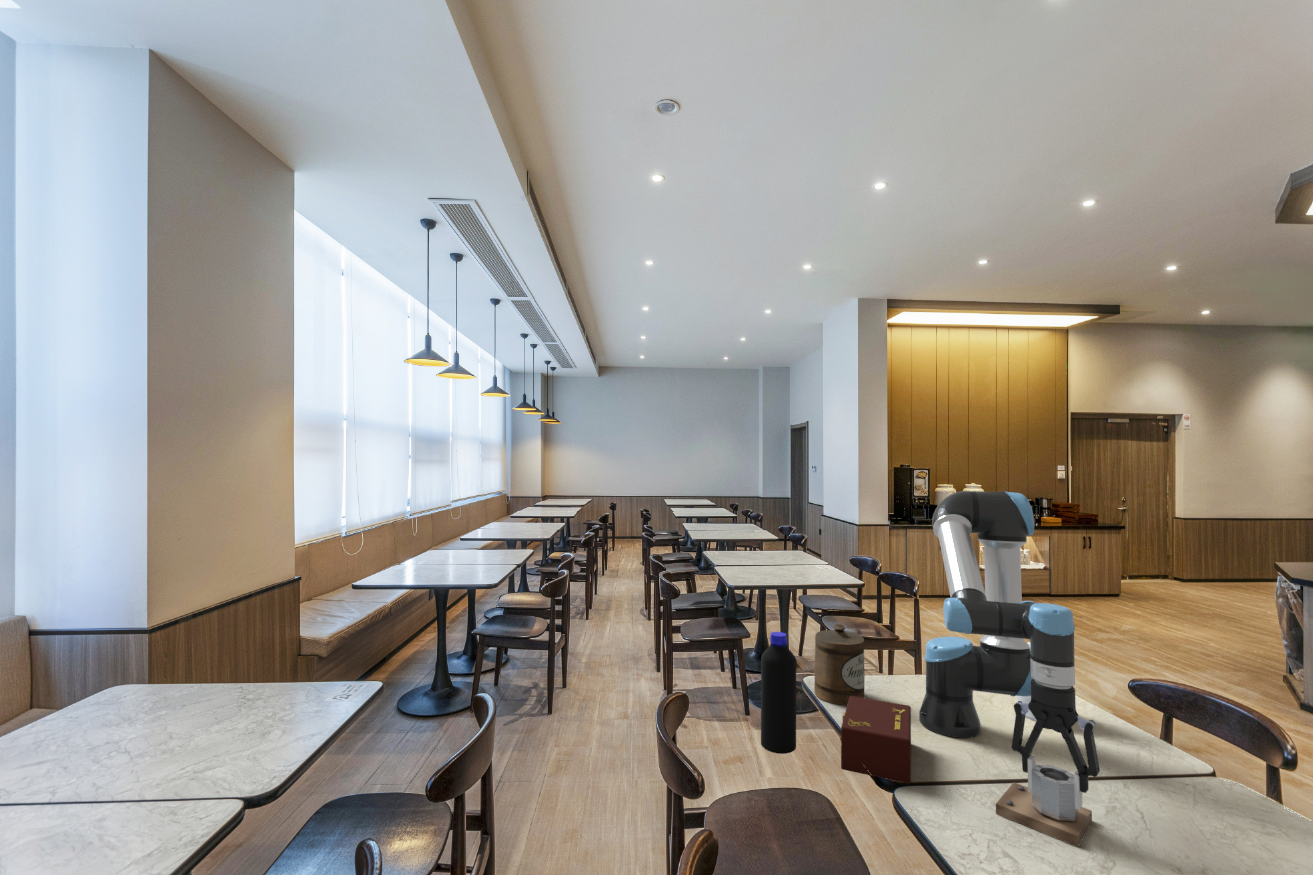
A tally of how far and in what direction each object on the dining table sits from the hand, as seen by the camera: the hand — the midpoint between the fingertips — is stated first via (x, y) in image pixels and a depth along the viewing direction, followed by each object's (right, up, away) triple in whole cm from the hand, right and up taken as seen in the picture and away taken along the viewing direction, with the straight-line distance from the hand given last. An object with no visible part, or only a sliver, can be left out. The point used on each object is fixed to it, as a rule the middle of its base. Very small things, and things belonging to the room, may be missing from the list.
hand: (1054, 797), depth 117 cm
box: (-27, -6, +26) cm, 38 cm away
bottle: (-50, -6, +30) cm, 58 cm away
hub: (0, -2, 0) cm, 2 cm away
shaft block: (-1, -5, +1) cm, 5 cm away
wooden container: (-24, -8, +62) cm, 67 cm away
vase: (+31, -8, +49) cm, 59 cm away
